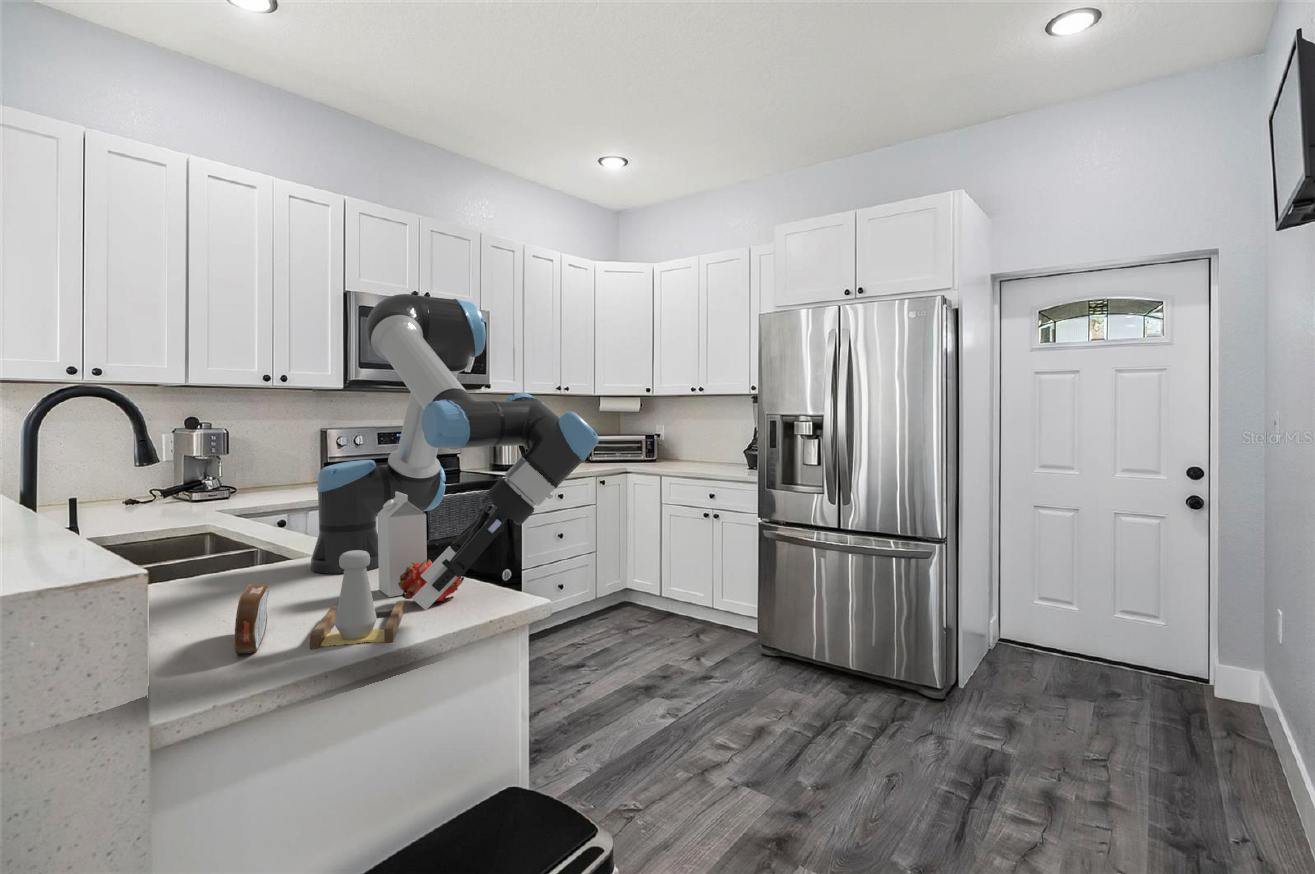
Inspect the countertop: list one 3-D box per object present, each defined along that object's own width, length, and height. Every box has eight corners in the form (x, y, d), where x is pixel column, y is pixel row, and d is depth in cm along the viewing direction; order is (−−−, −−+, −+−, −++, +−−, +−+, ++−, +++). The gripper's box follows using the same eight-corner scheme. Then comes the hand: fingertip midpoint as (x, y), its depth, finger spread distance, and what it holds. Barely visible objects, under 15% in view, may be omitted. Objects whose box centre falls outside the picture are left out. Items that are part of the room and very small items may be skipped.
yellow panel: (327, 635, 104) (327, 633, 104) (388, 630, 106) (388, 628, 106) (320, 646, 99) (320, 644, 99) (384, 641, 101) (384, 638, 101)
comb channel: (331, 618, 113) (331, 606, 113) (403, 612, 116) (403, 601, 116) (310, 648, 98) (309, 635, 98) (393, 641, 101) (392, 628, 101)
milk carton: (415, 584, 135) (414, 490, 134) (427, 591, 129) (425, 493, 128) (378, 590, 130) (376, 492, 130) (389, 598, 125) (387, 496, 124)
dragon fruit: (392, 615, 119) (458, 613, 126) (405, 596, 114) (474, 595, 121) (391, 571, 124) (455, 572, 131) (403, 550, 118) (470, 552, 125)
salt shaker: (360, 643, 99) (359, 556, 99) (326, 641, 101) (324, 555, 100) (384, 630, 105) (382, 548, 105) (351, 628, 106) (350, 547, 106)
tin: (249, 630, 107) (247, 578, 106) (271, 628, 108) (270, 576, 108) (232, 663, 93) (230, 603, 93) (258, 660, 94) (257, 600, 94)
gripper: (543, 520, 97) (435, 632, 93) (531, 498, 121) (445, 587, 118) (505, 485, 95) (394, 597, 92) (500, 470, 119) (413, 558, 116)
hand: (423, 591), depth 105 cm, fingers open, 13 cm apart
